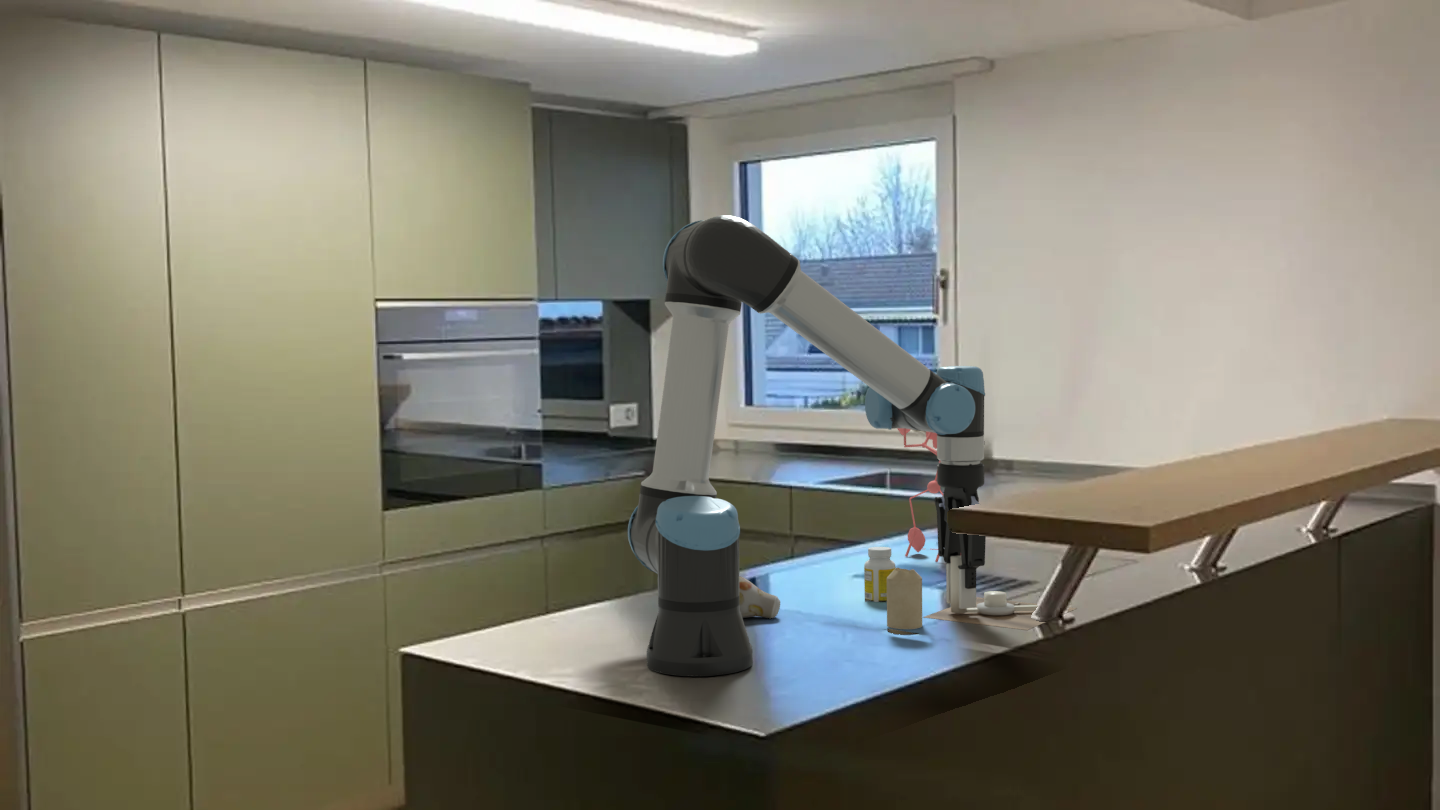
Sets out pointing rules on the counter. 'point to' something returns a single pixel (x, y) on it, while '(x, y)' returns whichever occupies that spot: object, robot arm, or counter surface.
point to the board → (992, 617)
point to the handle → (992, 600)
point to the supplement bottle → (877, 573)
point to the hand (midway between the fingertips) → (961, 604)
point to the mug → (756, 601)
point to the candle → (904, 601)
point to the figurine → (915, 534)
